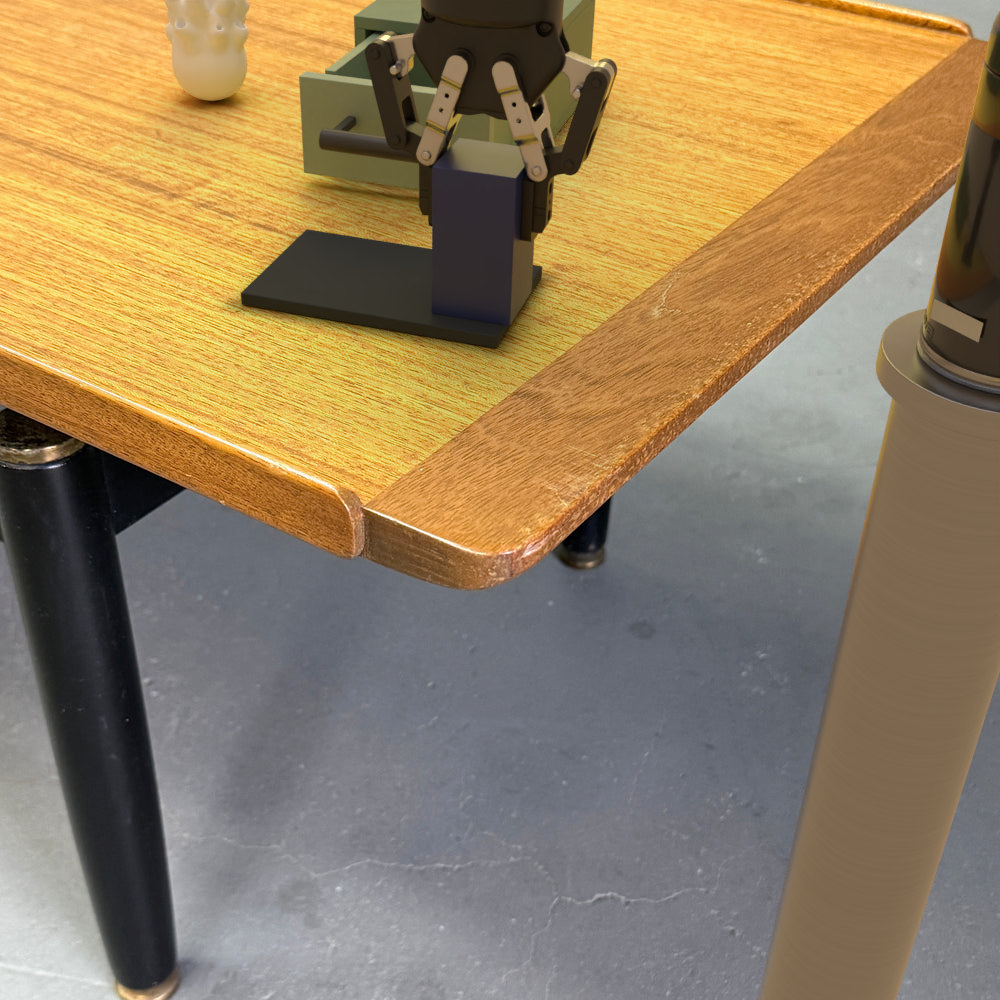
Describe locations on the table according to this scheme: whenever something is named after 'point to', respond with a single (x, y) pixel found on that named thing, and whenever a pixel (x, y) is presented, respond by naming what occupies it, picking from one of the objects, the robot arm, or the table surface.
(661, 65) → the table surface
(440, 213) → the navy box
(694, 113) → the table surface
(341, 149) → the drawer
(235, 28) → the figurine
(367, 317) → the mat
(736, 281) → the table surface
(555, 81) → the cabinet
